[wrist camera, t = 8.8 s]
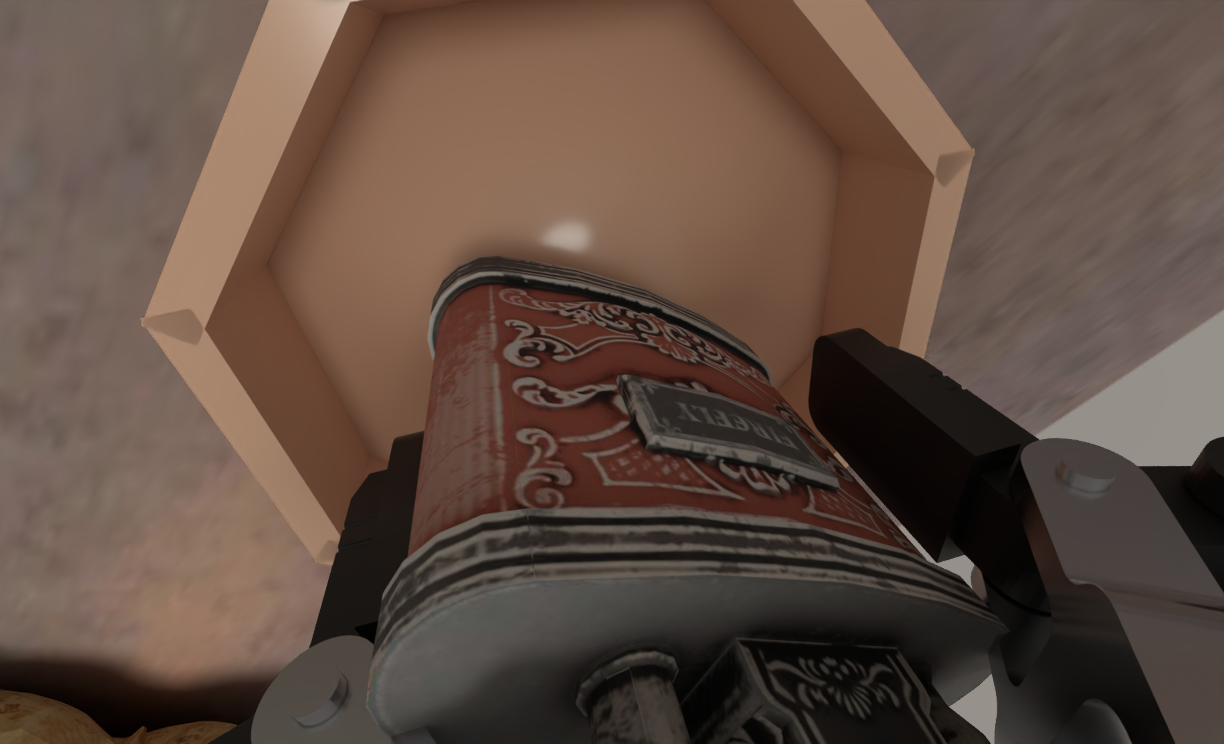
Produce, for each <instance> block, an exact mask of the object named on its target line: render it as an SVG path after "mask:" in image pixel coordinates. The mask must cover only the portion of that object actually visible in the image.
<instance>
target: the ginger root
mask: <svg viewBox="0 0 1224 744" xmlns="http://www.w3.org/2000/svg"><path fill="white" fill-rule="evenodd" d="M236 726H238V725H235V724H231V723H224V722H217V721H199V722H193V723H187V724H181V725H176V726H170V727H165V728H162V729H158V730H155V731H151V732H148V733H146V732H147V728H145V727H144V726H142V727H141V728H140V729H139V730H138V731H136V732H135V733H134V734H133V735H132V736H130V737H126V738H115V737H111V736H110V735H109V734H107V733H106V732H105V731H104V730H103V729H102V728H101V727H100V726H99V725H98V724H97V723H96V722H95V721H93V720H92V719H91V718H90V717H89V716H88V715H87V714H86V713H84V712H82V711H80V710H78V709H76V708H74V707H72V706H70V705H67V704H65V703H62V702H60V701H57V700H53V699H50V698H46V697H43V696H39V695H35V694H32V693H24V692H15V691H8V690H2V689H0V744H207V743H209V742H211V741H212V740H214V739H216V738H217V737H219V736H221V735H222V734H224V733H226V732H227V731H229V730H231V729H233V728H234V727H236Z"/></svg>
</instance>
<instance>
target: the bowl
mask: <svg viewBox="0 0 1224 744" xmlns="http://www.w3.org/2000/svg"><path fill="white" fill-rule="evenodd" d="M974 151H975V148H971V147H970V145H969V144H968V143H967V141H966V140H965V138H964V137H963V136H962V134H961V133H960V131H959V130H958V129H957V127H956V126H955V124H954V123H953V122H952V120H951V119H950V118H949V116H948V115H947V113H946V112H945V111H944V109H943V108H942V106H941V105H940V104H939V102H938V101H937V99H936V98H935V97H934V95H933V94H932V92H931V91H930V90H929V88H928V87H927V85H926V84H925V83H924V81H923V80H922V78H921V77H920V76H919V74H918V73H917V72H916V70H915V69H914V67H913V66H912V65H911V63H910V62H909V60H908V59H907V58H906V56H905V55H904V53H903V52H902V51H901V49H900V48H899V46H898V45H897V44H896V42H895V41H894V39H893V38H892V37H891V35H890V34H889V32H888V31H887V30H886V28H885V27H884V25H883V24H882V23H881V21H880V20H879V19H878V17H877V16H876V14H875V13H874V12H873V10H872V9H871V7H870V6H869V5H868V3H867V2H866V0H269V2H268V5H267V7H266V10H265V12H264V15H263V17H262V20H261V22H260V25H259V27H258V30H257V33H256V35H255V38H254V40H253V43H252V45H251V48H250V50H249V53H248V55H247V58H246V60H245V63H244V66H243V68H242V71H241V73H240V76H239V78H238V81H237V83H236V86H235V88H234V91H233V93H232V96H231V99H230V101H229V104H228V106H227V109H226V111H225V114H224V116H223V119H222V121H221V124H220V126H219V129H218V132H217V134H216V137H215V139H214V142H213V144H212V147H211V149H210V152H209V154H208V157H207V160H206V162H205V165H204V167H203V170H202V172H201V175H200V177H199V180H198V182H197V185H196V187H195V190H194V193H193V195H192V198H191V200H190V203H189V205H188V208H187V210H186V213H185V215H184V218H183V220H182V223H181V226H180V228H179V231H178V233H177V236H176V238H175V241H174V243H173V246H172V248H171V251H170V254H169V256H168V259H167V261H166V264H165V266H164V269H163V271H162V274H161V276H160V279H159V281H158V284H157V287H156V289H155V292H154V294H153V297H152V299H151V302H150V304H149V307H148V309H147V312H146V314H145V315H144V316H143V317H141V318H140V320H141V321H142V325H141V326H144V327H146V328H147V329H148V331H149V332H150V333H151V335H152V336H153V338H154V339H155V340H156V342H157V343H158V344H159V346H160V347H161V349H162V350H163V351H164V353H165V354H166V355H167V357H168V358H169V360H170V361H171V362H172V364H173V365H174V366H175V368H176V369H177V371H178V372H179V373H180V375H181V376H182V377H183V379H184V380H185V381H186V383H187V384H188V386H189V387H190V388H191V390H192V391H193V392H194V394H195V395H196V397H197V398H198V399H199V401H200V402H201V403H202V405H203V406H204V408H205V409H206V410H207V412H208V413H209V414H210V416H211V417H212V419H213V420H214V421H215V423H216V424H217V425H218V427H219V428H220V430H221V431H222V432H223V434H224V435H225V436H226V438H227V439H228V441H229V442H230V443H231V445H232V446H233V447H234V449H235V450H236V452H237V453H238V454H239V456H240V457H241V458H242V460H243V461H244V463H245V464H246V465H247V467H248V468H249V469H250V471H251V472H252V474H253V475H254V476H255V478H256V479H257V480H258V482H259V483H260V485H261V486H262V487H263V489H264V490H265V491H266V493H267V494H268V496H269V497H270V498H271V500H272V501H273V502H274V504H275V505H276V507H277V508H278V509H279V511H280V512H281V513H282V515H283V516H284V518H285V519H286V520H287V522H288V523H289V524H290V526H291V527H292V529H293V530H294V531H295V533H296V534H297V535H298V537H299V538H300V540H301V541H302V542H303V544H304V545H305V546H306V548H307V549H308V551H309V552H310V553H311V555H312V556H313V557H314V562H317V563H318V564H320V563H323V564H327V565H331V566H332V565H333V562H334V558H335V555H336V553H337V552H338V551H339V550H338V544H339V540H340V537H341V533H342V530H345V527H344V522H345V519H346V515H347V511H348V508H349V504H350V501H351V498H352V497H353V495H354V494H355V493H356V491H357V490H358V489H359V487H360V486H361V485H362V483H363V482H364V480H365V479H366V478H367V476H368V475H369V474H370V473H374V472H378V471H382V470H386V469H387V467H388V463H389V458H390V453H391V448H392V444H393V441H394V439H395V438H396V437H400V436H404V435H408V434H412V433H416V432H420V431H425V424H426V417H427V409H428V402H429V394H430V387H431V379H432V372H433V364H434V361H433V359H432V356H431V352H430V348H429V344H428V340H427V337H428V329H429V321H430V314H431V308H432V303H433V298H434V296H435V294H436V292H437V290H438V288H439V286H440V284H441V283H442V281H443V279H444V278H445V277H446V276H447V275H449V274H450V273H451V272H452V271H453V270H454V269H455V268H456V267H457V266H458V265H460V264H462V263H465V262H467V261H469V260H472V259H474V258H477V257H481V256H503V257H509V258H515V259H522V260H528V261H534V262H540V263H546V264H552V265H559V266H565V267H571V268H576V269H579V270H583V271H586V272H590V273H593V274H597V275H600V276H604V277H607V278H611V279H614V280H618V281H621V282H625V283H628V284H632V285H635V286H639V287H642V288H645V289H647V290H649V291H651V292H654V293H656V294H658V295H660V296H662V297H665V298H667V299H669V300H671V301H673V302H675V303H678V304H680V305H682V306H684V307H686V308H689V309H691V310H693V311H695V312H697V313H699V314H701V315H703V316H705V317H706V318H708V319H709V320H711V321H712V322H714V323H715V324H717V325H719V326H720V327H722V328H723V329H725V330H726V331H728V332H730V333H731V334H733V335H734V336H736V337H737V338H739V339H740V340H742V341H744V342H745V343H746V344H747V345H748V346H749V347H750V348H751V349H752V350H753V351H754V353H755V354H756V355H757V356H758V357H759V358H760V359H761V360H762V361H763V362H764V364H765V365H766V366H767V367H768V368H769V369H770V372H771V376H772V381H773V386H774V388H775V389H776V390H777V391H778V392H779V393H780V394H781V396H782V397H783V398H784V399H785V400H786V401H787V402H788V403H789V405H790V406H791V407H792V408H793V409H794V410H795V411H796V413H797V414H798V415H799V416H800V417H801V418H802V419H803V420H804V422H805V423H806V424H807V425H808V426H809V427H810V428H811V430H812V431H813V432H814V433H815V434H816V435H817V436H818V437H819V439H820V440H821V441H822V442H823V443H824V444H825V445H826V447H827V448H828V449H829V450H830V451H831V452H832V453H833V454H834V456H835V457H836V458H837V459H838V460H839V461H840V462H841V464H842V465H843V466H844V467H845V468H846V467H847V466H849V465H848V463H847V462H846V461H845V460H844V459H843V458H842V457H841V456H840V455H839V453H838V452H837V451H836V450H835V449H834V448H833V447H832V446H831V445H830V443H829V442H828V441H827V440H826V439H825V438H824V437H823V436H822V434H821V433H820V432H819V431H818V430H817V428H816V427H815V425H814V423H813V421H812V418H811V416H810V412H809V407H808V397H809V387H810V377H811V367H812V358H813V348H814V344H815V341H816V340H817V338H818V337H820V336H824V335H828V334H832V333H836V332H841V331H845V330H849V329H853V328H862V329H864V330H865V331H867V332H868V333H870V334H871V335H872V336H874V337H875V338H877V339H878V340H879V341H881V342H882V343H883V344H885V345H886V346H888V347H889V346H892V347H895V348H897V349H900V350H903V351H905V352H908V353H911V354H913V355H916V356H919V357H921V358H922V359H924V356H925V352H926V348H927V344H928V340H929V335H930V331H931V327H932V323H933V319H934V315H935V311H936V307H937V303H938V299H939V294H940V290H941V286H942V282H943V278H944V274H945V270H946V266H947V262H948V258H949V253H950V249H951V245H952V241H953V237H954V233H955V229H956V225H957V221H958V216H959V212H960V208H961V204H962V200H963V196H964V192H965V188H966V184H967V180H968V175H969V171H970V167H971V163H972V159H973V157H974V156H975V152H974Z"/></svg>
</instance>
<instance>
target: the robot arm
mask: <svg viewBox="0 0 1224 744" xmlns="http://www.w3.org/2000/svg"><path fill="white" fill-rule="evenodd" d="M808 407H809V412H810V416H811V418H812V421H813V423H814V425H815V427H816V428H817V430H818V431H819V432H820V433H821V434H822V436H823V437H824V438H825V439H826V440H827V441H828V442H829V443H830V445H831V446H832V447H833V448H834V449H835V450H836V451H837V452H838V453H839V455H840V456H841V457H842V458H843V459H844V460H845V461H846V462H847V463H848V465H849V466H850V467H851V468H852V469H853V470H854V471H855V472H856V473H857V475H858V476H859V477H860V478H861V479H862V480H863V481H864V482H865V484H866V485H867V486H868V487H869V488H870V489H871V490H872V491H873V492H874V494H875V495H876V496H877V497H878V498H879V499H880V500H881V501H882V502H883V504H884V505H885V506H886V507H887V508H888V509H889V510H890V511H891V513H892V514H893V515H894V516H895V517H896V518H897V519H898V520H899V521H900V523H901V524H902V525H903V526H904V527H905V528H906V529H907V530H908V531H909V533H910V534H911V535H912V536H913V537H914V538H915V539H916V540H917V541H918V543H919V544H920V545H921V546H922V547H923V548H924V549H925V550H926V552H927V553H928V554H929V555H930V556H931V557H932V558H933V559H934V560H935V562H936V563H939V562H942V561H945V560H949V559H952V558H955V557H959V556H962V555H966V556H967V557H968V558H969V559H970V560H971V561H972V562H973V563H974V564H975V565H974V567H973V570H972V572H971V584H972V589H973V591H974V592H975V593H976V594H977V595H978V596H979V597H980V598H981V600H982V601H983V602H984V603H985V604H986V605H987V606H988V607H989V608H990V609H991V610H992V611H993V613H994V614H995V615H996V616H997V617H998V618H999V619H1000V620H1001V621H1002V622H1003V623H1004V625H1005V626H1006V627H1007V628H1008V629H1009V630H1010V631H1009V632H1006V633H1003V634H1000V635H997V637H996V638H995V640H994V642H993V644H992V646H991V648H990V650H989V652H988V654H987V655H988V659H989V663H990V668H991V672H992V676H993V681H994V685H995V690H996V696H997V718H996V724H995V744H1224V437H1220V438H1217V439H1214V440H1212V441H1210V442H1209V443H1208V444H1207V445H1206V446H1205V448H1204V449H1203V451H1202V452H1201V453H1200V455H1199V457H1198V458H1197V459H1196V461H1195V462H1194V464H1193V465H1192V466H1136V465H1135V464H1134V463H1132V462H1131V461H1129V460H1127V459H1126V458H1124V457H1123V456H1121V455H1119V454H1117V453H1115V452H1112V451H1110V450H1108V449H1105V448H1103V447H1100V446H1097V445H1094V444H1091V443H1087V442H1082V441H1078V440H1072V439H1061V438H1051V439H1042V440H1039V439H1038V438H1036V437H1035V436H1033V435H1032V434H1030V433H1029V432H1028V431H1026V430H1025V429H1023V428H1022V427H1020V426H1019V425H1017V424H1016V423H1015V422H1013V421H1012V420H1010V419H1009V418H1007V417H1006V416H1004V415H1003V414H1002V413H1000V412H999V411H997V410H996V409H994V408H993V407H991V406H990V405H989V404H987V403H986V402H984V401H983V400H981V399H980V398H978V397H977V396H976V395H974V394H973V393H971V392H970V391H968V390H967V389H965V390H963V389H962V387H961V385H960V384H958V383H957V382H955V381H954V380H952V379H951V378H950V377H948V376H943V374H942V372H941V371H939V370H938V369H937V368H935V367H934V366H932V365H931V364H929V363H928V362H926V361H925V360H924V359H922V358H921V357H919V356H916V355H913V354H911V353H908V352H905V351H903V350H900V349H897V348H895V347H892V346H889V347H888V346H886V345H885V344H883V343H882V342H881V341H879V340H878V339H877V338H875V337H874V336H872V335H871V334H870V333H868V332H867V331H865V330H864V329H862V328H853V329H849V330H845V331H841V332H836V333H832V334H828V335H824V336H820V337H818V338H817V340H816V341H815V344H814V348H813V358H812V367H811V377H810V387H809V397H808ZM423 439H424V431H420V432H416V433H412V434H408V435H404V436H400V437H396V438H395V439H394V441H393V444H392V448H391V453H390V458H389V463H388V467H387V469H386V470H382V471H378V472H374V473H370V474H369V475H368V476H367V478H366V479H365V480H364V482H363V483H362V485H361V486H360V487H359V489H358V490H357V491H356V493H355V494H354V495H353V497H352V498H351V501H350V504H349V508H348V511H347V515H346V519H345V522H344V527H345V530H342V533H341V537H340V540H339V544H338V550H339V551H338V552H337V553H336V555H335V558H334V562H333V565H332V569H331V573H330V576H329V580H328V583H327V587H326V591H325V594H324V598H323V601H322V605H321V609H320V612H319V616H318V620H317V623H316V627H315V630H314V634H313V638H312V641H311V644H310V647H309V649H308V650H306V651H305V652H303V653H302V654H300V655H299V656H298V657H297V658H295V659H294V660H293V661H292V662H291V663H289V664H288V665H287V666H286V667H285V668H284V669H283V670H282V671H281V672H280V674H279V675H278V676H277V677H276V678H275V680H274V681H273V682H272V683H271V685H270V686H269V688H268V689H267V691H266V692H265V694H264V696H263V698H262V699H261V701H260V703H259V705H258V708H257V710H256V713H255V715H253V716H252V717H250V718H249V719H247V720H246V721H244V722H242V723H241V724H239V725H238V726H236V727H234V728H233V729H231V730H229V731H227V732H226V733H224V734H222V735H221V736H219V737H217V738H216V739H214V740H212V741H211V742H209V743H207V744H438V743H437V741H436V740H435V739H434V737H433V736H432V735H431V733H430V732H429V731H428V729H427V728H426V727H425V726H423V727H420V728H416V729H413V730H410V731H407V732H403V733H400V734H397V735H393V736H388V735H386V734H385V733H383V732H381V731H380V730H379V728H378V726H377V725H376V723H375V721H374V719H373V718H372V716H371V714H370V712H369V711H368V709H367V707H366V700H367V690H368V681H369V672H370V667H371V661H372V655H373V649H374V643H375V637H376V631H377V625H378V620H379V614H380V608H381V602H382V596H383V593H384V591H385V589H386V588H387V586H388V585H389V583H390V581H391V580H392V578H393V577H394V575H395V573H396V572H397V570H398V569H399V567H400V565H401V564H402V562H403V561H404V560H405V559H407V558H408V551H409V544H410V536H411V529H412V521H413V514H414V506H415V499H416V491H417V484H418V476H419V469H420V461H421V454H422V446H423Z"/></svg>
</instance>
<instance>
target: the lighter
mask: <svg viewBox="0 0 1224 744" xmlns="http://www.w3.org/2000/svg"><path fill="white" fill-rule="evenodd" d="M427 340H428V344H429V348H430V352H431V356H432V359H433V361H434V364H433V372H432V379H431V387H430V394H429V402H428V409H427V417H426V424H425V431H424V439H423V446H422V454H421V461H420V469H419V476H418V484H417V491H416V499H415V506H414V514H413V521H412V529H411V536H410V544H409V551H408V558H407V559H405V560H404V561H403V562H402V564H401V565H400V567H399V569H398V570H397V572H396V573H395V575H394V577H393V578H392V580H391V581H390V583H389V585H388V586H387V588H386V589H385V591H384V593H383V596H382V602H381V608H380V614H379V620H378V625H377V631H376V637H375V643H374V649H373V655H372V661H371V667H370V672H369V681H368V690H367V700H366V707H367V709H368V711H369V712H370V714H371V716H372V718H373V719H374V721H375V723H376V725H377V726H378V728H379V730H380V731H381V732H383V733H385V734H386V735H388V736H393V735H397V734H400V733H403V732H407V731H410V730H413V729H416V728H420V727H423V726H425V727H426V728H427V729H428V731H429V732H430V733H431V735H432V736H433V737H434V739H435V740H436V741H437V743H438V744H991V743H990V742H989V741H988V739H987V738H986V737H985V735H984V734H983V733H981V732H980V731H979V730H978V729H976V728H975V727H974V726H973V725H971V724H970V723H969V722H967V721H966V720H965V719H964V718H962V717H961V716H960V715H958V714H957V713H956V712H955V711H953V710H952V709H951V708H949V706H950V705H952V704H954V703H955V702H957V701H958V700H959V699H961V698H962V697H964V696H965V695H966V694H968V693H969V692H971V691H972V690H973V689H975V688H976V687H977V686H979V685H980V684H981V683H982V682H983V681H984V680H985V679H986V678H987V677H988V676H989V675H990V674H992V672H991V668H990V663H989V659H988V655H987V654H988V652H989V650H990V648H991V646H992V644H993V642H994V640H995V638H996V637H997V635H1000V634H1003V633H1006V632H1009V631H1010V630H1009V629H1008V628H1007V627H1006V626H1005V625H1004V623H1003V622H1002V621H1001V620H1000V619H999V618H998V617H997V616H996V615H995V614H994V613H993V611H992V610H991V609H990V608H989V607H988V606H987V605H986V604H985V603H984V602H983V601H982V600H981V598H980V597H979V596H978V595H977V594H976V593H975V592H974V591H973V590H972V589H971V588H970V586H969V585H968V584H966V582H965V581H964V580H963V579H962V578H961V577H960V576H959V575H957V574H955V573H952V572H950V571H948V570H946V569H944V568H942V567H939V566H937V565H935V564H933V563H930V562H928V561H927V560H926V559H925V558H924V557H923V555H922V554H921V553H920V552H919V551H918V550H917V548H916V547H915V546H914V545H913V544H912V543H911V542H910V541H909V540H908V538H907V537H906V536H905V535H904V534H903V533H902V532H901V530H900V529H899V528H898V527H897V526H896V525H895V524H894V522H893V521H892V520H891V519H890V518H889V517H888V516H887V514H886V513H885V512H884V511H883V510H882V509H881V508H880V507H879V505H878V504H877V503H876V502H875V501H874V500H873V499H872V497H871V496H870V495H869V494H868V493H867V492H866V491H865V490H864V488H863V487H862V486H861V485H860V484H859V483H858V482H857V481H856V479H855V478H854V477H853V476H852V475H851V474H850V473H849V471H848V470H847V469H846V468H845V467H844V466H843V465H842V464H841V462H840V461H839V460H838V459H837V458H836V457H835V456H834V454H833V453H832V452H831V451H830V450H829V449H828V448H827V447H826V445H825V444H824V443H823V442H822V441H821V440H820V439H819V437H818V436H817V435H816V434H815V433H814V432H813V431H812V430H811V428H810V427H809V426H808V425H807V424H806V423H805V422H804V420H803V419H802V418H801V417H800V416H799V415H798V414H797V413H796V411H795V410H794V409H793V408H792V407H791V406H790V405H789V403H788V402H787V401H786V400H785V399H784V398H783V397H782V396H781V394H780V393H779V392H778V391H777V390H776V389H775V388H774V386H773V381H772V376H771V372H770V369H769V368H768V367H767V366H766V365H765V364H764V362H763V361H762V360H761V359H760V358H759V357H758V356H757V355H756V354H755V353H754V351H753V350H752V349H751V348H750V347H749V346H748V345H747V344H746V343H745V342H744V341H742V340H740V339H739V338H737V337H736V336H734V335H733V334H731V333H730V332H728V331H726V330H725V329H723V328H722V327H720V326H719V325H717V324H715V323H714V322H712V321H711V320H709V319H708V318H706V317H705V316H703V315H701V314H699V313H697V312H695V311H693V310H691V309H689V308H686V307H684V306H682V305H680V304H678V303H675V302H673V301H671V300H669V299H667V298H665V297H662V296H660V295H658V294H656V293H654V292H651V291H649V290H647V289H645V288H642V287H639V286H635V285H632V284H628V283H625V282H621V281H618V280H614V279H611V278H607V277H604V276H600V275H597V274H593V273H590V272H586V271H583V270H579V269H576V268H571V267H565V266H559V265H552V264H546V263H540V262H534V261H528V260H522V259H515V258H509V257H503V256H481V257H477V258H474V259H472V260H469V261H467V262H465V263H462V264H460V265H458V266H457V267H456V268H455V269H454V270H453V271H452V272H451V273H450V274H449V275H447V276H446V277H445V278H444V279H443V281H442V283H441V284H440V286H439V288H438V290H437V292H436V294H435V296H434V298H433V303H432V308H431V314H430V321H429V329H428V337H427Z"/></svg>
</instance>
